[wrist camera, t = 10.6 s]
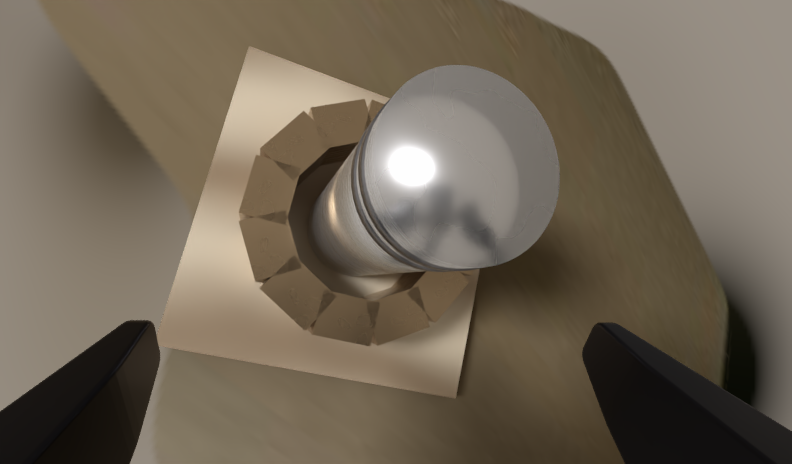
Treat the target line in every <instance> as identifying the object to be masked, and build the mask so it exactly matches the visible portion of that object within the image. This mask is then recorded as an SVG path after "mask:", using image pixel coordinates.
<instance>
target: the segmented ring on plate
mask: <svg viewBox="0 0 792 464" xmlns="http://www.w3.org/2000/svg"><path fill="white" fill-rule="evenodd" d="M360 99H365V101H366V105H367V107H368V105H369V103H370V102H371V100H375V101H377V102H380V103H383V104H385V103H386V102H387V101H389V100H390V99H389V98H387V97H384V96H381V95H379V94H376V93H373V92H371V91H368V90H365V89H363V88H360V87H357V86H355V85H352V84H349V83H347V82H344V81H341V80H339V79H336V78H333V77H331V76H328V75H325V74H323V73H320V72H317V71H314V70H312V69H309V68H306V67H304V66H301V65H298V64H296V63H293V62H290V61H288V60H285V59H282V58H280V57H277V56H274V55H272V54H269V53H266V52H264V51H261V50H258V49H256V48H253V47H250V46H249V48H248V51H247V55H246V58H245V61H244V64H243V67H242V70H241V73H240V76H239V80H238V83H237V86H236V89H235V92H234V95H233V98H232V102H231V105H230V108H229V111H228V114H227V117H226V120H225V123H224V127H223V130H222V133H221V136H220V139H219V142H218V145H217V148H216V152H215V155H214V158H213V161H212V164H211V167H210V170H209V173H208V177H207V180H206V183H205V186H204V189H203V192H202V195H201V199H200V202H199V205H198V208H197V211H196V214H195V217H194V220H193V224H192V227H191V230H190V233H189V236H188V239H187V242H186V245H185V249H184V252H183V255H182V258H181V261H180V264H179V268H178V271H177V274H176V277H175V280H174V283H173V286H172V289H171V293H170V296H169V299H168V302H167V305H166V308H165V311H164V314H163V318H162V321H161V324H160V327H159V330H158V333H157V341H158V345H159V346H163V347H168V348H174V349H180V350H185V351H191V352H197V353H202V354H208V355H213V356H219V357H225V358H230V359H236V360H242V361H247V362H253V363H258V364H264V365H270V366H275V367H281V368H287V369H292V370H298V371H303V372H309V373H315V374H320V375H326V376H332V377H337V378H343V379H349V380H354V381H360V382H365V383H371V384H377V385H382V386H388V387H394V388H399V389H405V390H410V391H416V392H422V393H427V394H433V395H439V396H444V397H450V398H455V399H456V394H457V389H458V383H459V378H460V373H461V367H462V362H463V357H464V351H465V346H466V340H467V335H468V330H469V324H470V319H471V314H472V308H473V303H474V298H475V292H476V287H477V282H478V276H479V271H480V269H474V270H473V275H467V276H464V277H465V278H466V279H467V280H468V281H469V283H468V284H467V285H466V286H465V288H464V289H463V290H462V291H461V293H460V294H459V295H458V296H457V297H456V299H455V300H454V301H453V302H452V304H451V305H450V306H449V307H448V308H447V310H446V311H445V312H444V313H443V315H442V316H441V317H440V318H439V319H438V321H437V322H436V323H435V322H430V321H428V322H429V325H430V327H428V328H426V329H423V330H420V331H417V332H415V333H412V334H409V335H406V336H404V337H401V338H398V339H396V340H393V341H390V342H387V343H385V344H382V345H379V346H377V345H375V344H373V343H371V345H370V346H365V345H360V344H355V343H350V342H345V341H340V340H335V339H330V338H326V337H321V336H316V335H312V334H311V333H310V332H309V331H308V330H306V331H304V330H303V329H302V328H301V327H300V326H299V325H298V324H297V323H296V322H295V321H294V320H293V319H292V318H291V317H289V316H288V315H287V314H286V313H285V312H284V311H283V310H282V309H281V308H280V307H279V306H278V305H277V304H276V303H274V302H273V301H272V300H271V299H270V298H269V297H268V296H267V295H266V294H265V293H264V292H263V291H262V290H260V289H259V287H260V286H261V285H262V284H263V283H264V282H265V281H266V280H267V279H268V278H266V279H263V280H259V281H256V282H255V279H254V275H253V272H252V268H251V265H250V261H249V257H248V254H247V250H246V247H245V243H244V239H243V236H242V232H241V228H240V225H239V221H240V217H239V209H240V206H241V203H242V199H243V196H244V193H245V189H246V186H247V183H248V180H249V176H250V173H251V170H252V166H253V163H254V160H255V156H256V155H259V156H260V148H261V147H262V146H263V145H264V144H265V143H267V142H268V141H269V140H270V139H271V138H272V137H274V136H275V135H276V134H277V133H278V132H279V131H281V130H282V129H283V128H284V127H285V126H286V125H288V124H289V123H290V122H291V121H292V120H293V119H295V118H296V117H297V116H298V115H299V114H300V113H302V112H303V111H305V112H306V113H307V114H309V111H310V108H311V107H316V106H323V105H329V104H335V103H341V102H348V101H354V100H360ZM344 162H345V161H342V162H337V163H332V164H327V165H322V166H319V167H318V168H317V169H316V170H315V171H314V172H313V173H312V174H310V175H309V176H308V177H307V178H306V179H305V180H304V181H303V182H302V183H301V184H300V185H299V186H298V187H296V189H295V192H294V196H293V199H292V203H291V207H290V210H289V214H288V221H289V225H290V228H291V232H292V235H293V239H294V243H295V246H296V250H297V253H298V257H299V260H300V261H301V262H302V263H303V264H304V265H305V266H306V267H307V268H308V269H309V270H310V271H311V272H312V273H313V274H314V275H315V276H316V277H317V278H318V279H319V280H320V281H321V282H322V283H323V284H324V285H325V286H326V287H328V288H329V289H330V290H331V291H332V292H336V293H341V294H345V295H349V296H354V297H358V298H360V297H363V296H366V295H369V294H372V293H376V292H379V291H382V290H385V289H388V288H391V287H392V286H393V284H394V283H395V282H396V281H397V280H398V279H399V278H400V277H401V275H402V274H403V273H393V274H378V275H364V276H348V275H343V274H340V273H337V272H335V271H333V270H331V269H329V268H328V267H327V266H325V265H324V264H323V263H322V262H321V261H320V260H319V259H318V258H317V256H316V255H315V253H314V252H313V250H312V248H311V245H310V243H309V239H308V234H307V222H308V216H309V213H310V210H311V208H312V206H313V204H314V202H315V201H316V200H317V198H318V197H319V196H320V194H321V193H322V191H323V190H324V189H325V187H326V186H327V185H328V183H329V182H330V181H331V179H332V178H333V177H334V175H335V174H336V173H337V171H338V170H339V168H340V167H341V166H342V164H343V163H344Z"/></svg>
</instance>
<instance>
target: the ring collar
mask: <svg viewBox="0 0 792 464" xmlns="http://www.w3.org/2000/svg"><path fill="white" fill-rule="evenodd" d="M383 106H384V104H383V103H380V102H377V101H375V100H371V102H370V103H369V105H368V107H367V105H366V101H365V99H360V100H354V101H348V102H341V103H335V104H329V105H323V106H316V107H311V108H310V111H309V114H307V113H306V112H305V111H303V112H302V113H300V114H299V115H298V116H297V117H296V118H295V119H293V120H292V121H291V122H290V123H289V124H288V125H286V126H285V127H284V128H283V129H282V130H281V131H279V132H278V133H277V134H276V135H275V136H274V137H272V138H271V139H270V140H269V141H268V142H267V143H265V144H264V145H263V146H262V147H261V148H260V156H259V155H256V156H255V160H254V163H253V166H252V170H251V173H250V176H249V180H248V183H247V186H246V189H245V193H244V196H243V199H242V203H241V206H240V209H239V217H240V221H239V225H240V228H241V232H242V236H243V239H244V243H245V247H246V250H247V254H248V257H249V261H250V265H251V268H252V272H253V275H254V279H255V282H256V281H259V280H263V279H266V278H268V279H267V280H266V281H265V282H264V283H263V284H262V285H261V286H260V287H259V289H260V290H262V291H263V292H264V293H265V294H266V295H267V296H268V297H269V298H270V299H271V300H272V301H273V302H274V303H276V304H277V305H278V306H279V307H280V308H281V309H282V310H283V311H284V312H285V313H286V314H287V315H288V316H289V317H291V318H292V319H293V320H294V321H295V322H296V323H297V324H298V325H299V326H300V327H301V328H302V329H303V330H304V331H306V330H308V331H309V332H310V333H311V334H312V335H316V336H321V337H326V338H330V339H335V340H340V341H345V342H350V343H355V344H360V345H365V346H370V345H371V343H373V344H375V345H377V346H379V345H382V344H385V343H387V342H390V341H393V340H396V339H398V338H401V337H404V336H406V335H409V334H412V333H415V332H417V331H420V330H423V329H426V328H428V327H430V325H429V322H428V321H430V322H435V323H436V322H437V321H438V319H439V318H440V317H441V316H442V315H443V313H444V312H445V311H446V310H447V308H448V307H449V306H450V305H451V304H452V302H453V301H454V300H455V299H456V297H457V296H458V295H459V294H460V293H461V291H462V290H463V289H464V288H465V286H466V285H467V284H468V283H469V281H468V280H467V279H466V278H465V277H464V276H467V275H473V270H469V271H452V272H430V271H423V272H408V273H403V274H402V275H401V277H400V278H399V279H398V280H397V281H396V282H395V283H394V284H393V286H392V287H391V288H388V289H385V290H382V291H379V292H376V293H372V294H369V295H366V296H363V297H360V298H358V297H354V296H349V295H345V294H341V293H336V292H332V291H331V290H330V289H329V288H328V287H326V286H325V285H324V284H323V283H322V282H321V281H320V280H319V279H318V278H317V277H316V276H315V275H314V274H313V273H312V272H311V271H310V270H309V269H308V268H307V267H306V266H305V265H304V264H303V263H302V262H301V261H300V260H299V257H298V253H297V250H296V246H295V243H294V239H293V235H292V232H291V228H290V225H289V221H288V214H289V210H290V207H291V203H292V199H293V196H294V192H295V189H296V187H298V186H299V185H300V184H301V183H302V182H303V181H304V180H305V179H306V178H307V177H308V176H309V175H310V174H312V173H313V172H314V171H315V170H316V169H317V168H318V167H319V166H322V165H327V164H332V163H337V162H342V161H345V160H346V159H347V158H348V156H349V155H350V154H351V152H352V151H353V149H354V148H355V147H356V145H357V144H358V142H359V140H360V138H361V137H362V135H363V133H364V131H365V130H366V128H367V127H368V126H369V124H370V123H371V122H372V120H373V119H374V117H375V116H376V115H377V113H378V112H379V111H380V109H381V108H382V107H383Z"/></svg>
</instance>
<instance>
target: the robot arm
mask: <svg viewBox="0 0 792 464" xmlns="http://www.w3.org/2000/svg"><path fill="white" fill-rule="evenodd" d="M582 357H583V361H584V364H585V367H586V370H587V372H588V375H589V378H590V381H591V383H592V386H593V389H594V392H595V394H596V397H597V400H598V402H599V405H600V408H601V411H602V413H603V416H604V418H605V421H606V424H607V426H608V428H609V430H610V433H611V435H612V437H613V439H614V441H615V443H616V445H617V448H618V450H619V452H620V454H621V456H622V458H623V460H624V462H625V464H792V431H790V430H788V429H787V428H785V427H784V426H782V425H781V424H779V423H777V422H776V421H774V420H772V419H771V418H769V417H767V416H766V415H764V414H763V413H761V412H759V411H758V410H756V409H754V408H753V407H751V406H750V405H748V404H746V403H745V402H743V401H742V400H740V399H738V398H736V397H735V396H734V395H732V394H730V393H729V392H727V391H725V390H724V389H722V388H721V387H719V386H717V385H716V384H714V383H712V382H711V381H709V380H708V379H706V378H704V377H703V376H701V375H699V374H698V373H696V372H695V371H693V370H691V369H690V368H688V367H686V366H685V365H683V364H682V363H680V362H678V361H677V360H675V359H673V358H672V357H670V356H669V355H667V354H665V353H664V352H662V351H661V350H659V349H657V348H656V347H654V346H652V345H651V344H649V343H648V342H646V341H644V340H643V339H641V338H639V337H638V336H636V335H635V334H633V333H631V332H630V331H628V330H626V329H625V328H623V327H622V326H620V325H618V324H616V323H597V324H596V325H594V327H593V329H592V331H591V333H590V335H589V337H588V339H587V341H586V343H585V345H584V348H583V352H582ZM159 362H160V350H159V345H158V341H157V336H156V331H155V327H154V324H153V323H152V322H151V321H148V320H130V321H126V322H124V323H123V324H121V325H120V326H118V327H117V328H116V329H114V330H113V331H111V332H110V333H109V334H107V335H106V336H105V337H103V338H102V339H101V340H99V341H98V342H96V343H95V344H93V345H92V346H91V347H89V348H88V349H86V350H85V351H84V352H82V353H81V354H79V355H78V356H77V357H75V358H74V359H73V360H71V361H70V362H69V363H67V364H66V365H64V366H63V367H62V368H60V369H59V370H57V371H56V372H54V373H53V374H52V375H50V376H49V377H47V378H46V379H45V380H43V381H42V382H40V383H39V384H38V385H36V386H35V387H33V388H32V389H31V390H29V391H28V392H27V393H25V394H24V395H22V396H21V397H20V398H18V399H17V400H16V401H14V402H13V403H11V404H10V405H8V406H7V407H6V408H4V409H3V410H1V411H0V464H130V461H131V459H132V456H133V453H134V450H135V448H136V445H137V442H138V439H139V435H140V432H141V428H142V425H143V421H144V417H145V414H146V410H147V407H148V403H149V400H150V396H151V392H152V389H153V385H154V381H155V378H156V374H157V371H158V367H159Z"/></svg>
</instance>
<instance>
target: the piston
mask: <svg viewBox="0 0 792 464" xmlns="http://www.w3.org/2000/svg"><path fill="white" fill-rule="evenodd" d="M559 181H560V172H559V161H558V156H557V151H556V147H555V144H554V141H553V138H552V135H551V133H550V130H549V128H548V126H547V124H546V122H545V121H544V119H543V117H542V115H541V114H540V112H539V111H538V110H537V108H536V107H535V105H534V104H533V103H532V102H531V101H530V100H529V98H528V97H527V96H526V95H525V94H524V93H523V92H521V91H520V90H519V89H518V88H517V87H516V86H514V85H513V84H512V83H510V82H509V81H507V80H506V79H504V78H502V77H500V76H499V75H497V74H495V73H492V72H490V71H487V70H485V69H481V68H477V67H473V66H465V65H448V66H441V67H436V68H433V69H430V70H427V71H425V72H423V73H421V74H419V75H416V76H415V77H413V78H412V79H411V80H409V81H408V82H406V83H405V84H404V85H403V86H402V87H401V88H400V89H399V90H398V91H397V92H396V93H395V94H394V96H393V97H392V98H391V99H390V100H389V101H387V102H386V103H385V104H384V106H383V107H382V108H381V109H380V111H379V112H378V113H377V115H376V116H375V117H374V119H373V120H372V122H371V123H370V124H369V126H368V127H367V128H366V130H365V131H364V133H363V135H362V137H361V138H360V140H359V142H358V144H357V145H356V147H355V148H354V149H353V151H352V152H351V154H350V155H349V156H348V158H347V159H346V160H345V162H344V163H343V164H342V166H341V167H340V168H339V170H338V171H337V173H336V174H335V175H334V177H333V178H332V179H331V181H330V182H329V183H328V185H327V186H326V187H325V189H324V190H323V191H322V193H321V194H320V196H319V197H318V198H317V200H316V201H315V202H314V204H313V206H312V208H311V210H310V213H309V216H308V222H307V234H308V239H309V243H310V245H311V248H312V250H313V252H314V253H315V255H316V256H317V258H318V259H319V260H320V261H321V262H322V263H323V264H324V265H325V266H327V267H328V268H329V269H331V270H333V271H335V272H337V273H340V274H343V275H348V276H364V275H378V274H393V273H408V272H423V271H430V272H452V271H469V270H474V269H480V268H483V267H490V266H495V265H499V264H502V263H505V262H508V261H510V260H512V259H514V258H516V257H518V256H520V255H521V254H522V253H524V252H525V251H526V250H528V249H529V248H530V247H531V246H532V245H533V244H534V243H535V242H536V241H537V240H538V239H539V237H540V236H541V235H542V233H543V232H544V231H545V229H546V227H547V225H548V224H549V222H550V220H551V217H552V215H553V212H554V210H555V206H556V203H557V199H558V192H559Z"/></svg>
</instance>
